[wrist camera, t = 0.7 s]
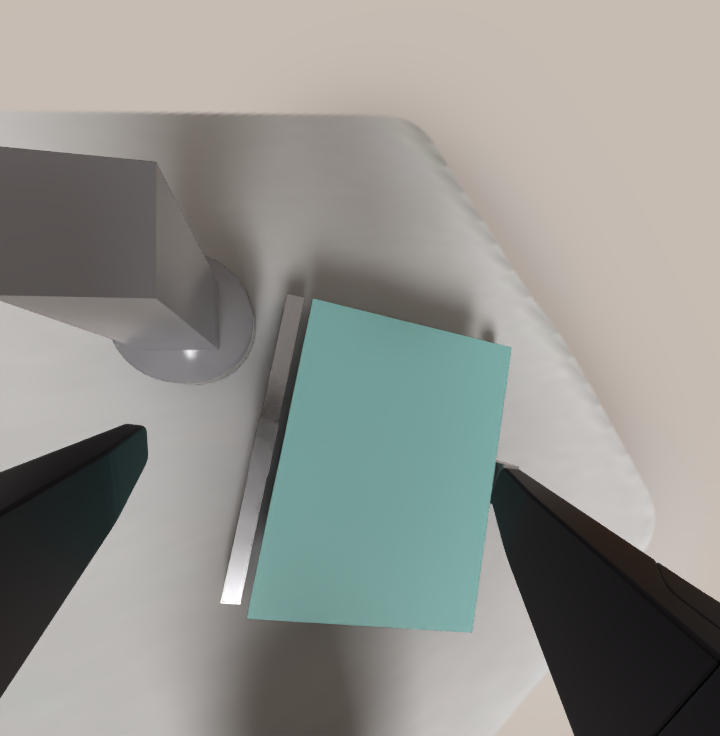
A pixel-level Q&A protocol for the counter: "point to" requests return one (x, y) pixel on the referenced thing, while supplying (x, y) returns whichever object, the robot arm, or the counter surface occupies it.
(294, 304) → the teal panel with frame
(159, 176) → the gray metal handle
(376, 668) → the counter surface
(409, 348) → the trapdoor
